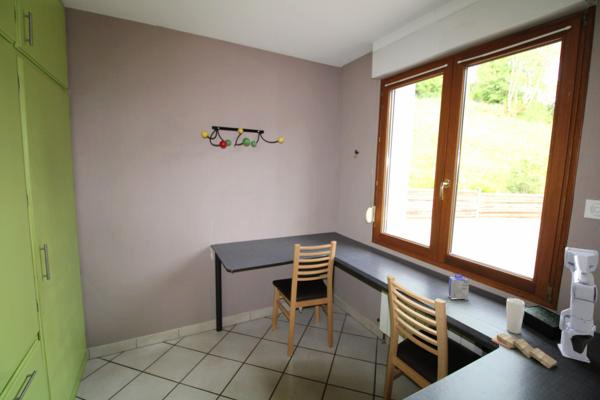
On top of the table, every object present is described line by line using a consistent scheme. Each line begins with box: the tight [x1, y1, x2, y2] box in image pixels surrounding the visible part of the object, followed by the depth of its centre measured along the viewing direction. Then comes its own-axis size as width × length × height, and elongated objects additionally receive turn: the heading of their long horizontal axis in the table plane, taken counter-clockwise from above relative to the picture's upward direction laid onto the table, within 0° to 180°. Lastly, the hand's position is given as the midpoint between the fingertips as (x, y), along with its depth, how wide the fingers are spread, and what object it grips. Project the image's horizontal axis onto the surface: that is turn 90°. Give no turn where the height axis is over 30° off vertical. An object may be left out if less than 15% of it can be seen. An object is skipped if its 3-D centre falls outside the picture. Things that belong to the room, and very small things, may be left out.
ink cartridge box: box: [448, 273, 470, 301], centre depth 169 cm, size 10×6×14 cm, turn 78°
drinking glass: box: [505, 297, 525, 335], centre depth 134 cm, size 7×7×15 cm
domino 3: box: [529, 347, 558, 369], centre depth 113 cm, size 2×5×7 cm
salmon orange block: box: [491, 336, 512, 350], centre depth 125 cm, size 2×5×7 cm
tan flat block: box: [513, 338, 534, 359], centre depth 119 cm, size 2×5×7 cm
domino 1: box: [496, 332, 517, 349], centre depth 125 cm, size 2×5×7 cm
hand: (577, 352), depth 104 cm, fingers closed
